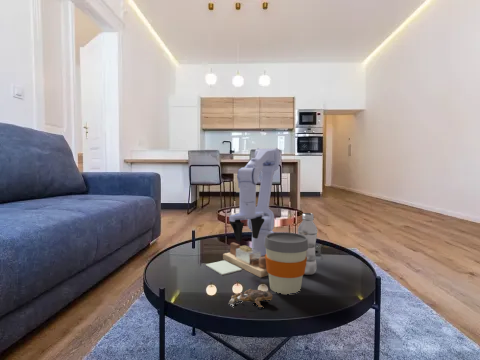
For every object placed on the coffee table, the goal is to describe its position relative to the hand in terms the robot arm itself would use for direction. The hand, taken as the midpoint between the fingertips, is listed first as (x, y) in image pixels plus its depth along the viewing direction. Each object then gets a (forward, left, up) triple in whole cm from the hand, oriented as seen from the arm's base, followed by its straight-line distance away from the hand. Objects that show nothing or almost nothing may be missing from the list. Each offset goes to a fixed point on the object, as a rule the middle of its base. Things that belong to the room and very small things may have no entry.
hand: (247, 239), depth 103 cm
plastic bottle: (-12, +17, -10) cm, 23 cm away
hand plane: (0, 0, -9) cm, 9 cm away
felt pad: (+8, -3, -9) cm, 13 cm away
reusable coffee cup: (+2, +21, -10) cm, 23 cm away
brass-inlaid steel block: (0, 0, -7) cm, 7 cm away
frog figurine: (+15, +22, -10) cm, 29 cm away
